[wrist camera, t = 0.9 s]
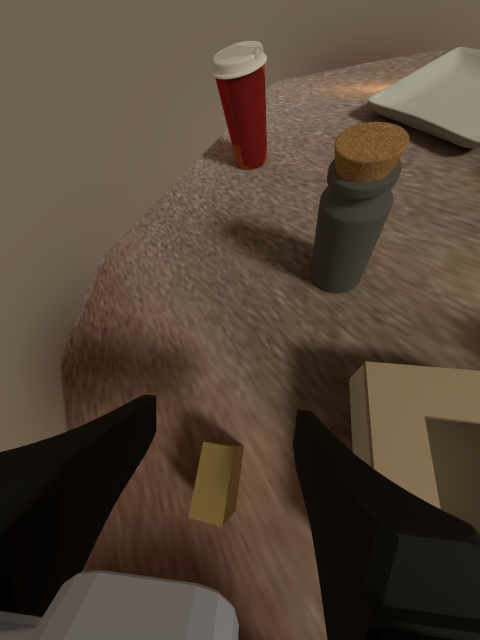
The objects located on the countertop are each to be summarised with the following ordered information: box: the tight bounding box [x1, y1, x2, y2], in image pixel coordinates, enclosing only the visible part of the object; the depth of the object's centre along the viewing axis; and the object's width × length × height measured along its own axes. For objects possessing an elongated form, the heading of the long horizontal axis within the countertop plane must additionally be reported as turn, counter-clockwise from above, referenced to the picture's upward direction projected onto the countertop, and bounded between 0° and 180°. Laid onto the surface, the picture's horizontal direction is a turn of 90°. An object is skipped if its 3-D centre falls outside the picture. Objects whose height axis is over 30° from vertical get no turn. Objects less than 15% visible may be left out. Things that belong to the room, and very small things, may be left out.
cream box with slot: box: [349, 361, 480, 534], centre depth 17 cm, size 14×11×6 cm
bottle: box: [311, 122, 409, 293], centre depth 23 cm, size 6×6×15 cm
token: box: [189, 442, 244, 527], centre depth 20 cm, size 5×3×5 cm, turn 171°
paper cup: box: [212, 41, 267, 170], centre depth 38 cm, size 8×8×14 cm
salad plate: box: [368, 47, 480, 148], centre depth 38 cm, size 21×21×3 cm
